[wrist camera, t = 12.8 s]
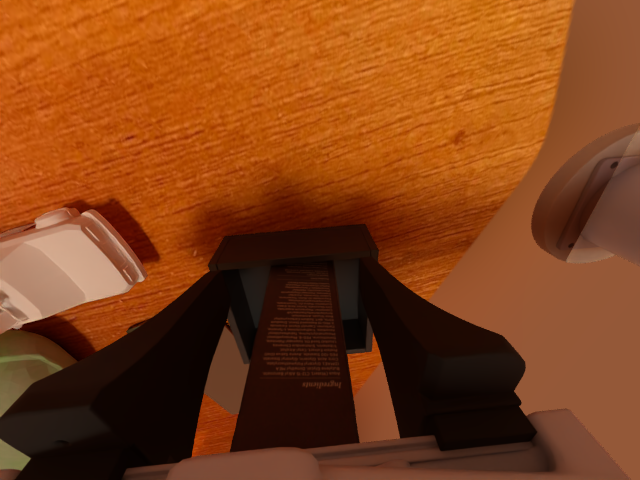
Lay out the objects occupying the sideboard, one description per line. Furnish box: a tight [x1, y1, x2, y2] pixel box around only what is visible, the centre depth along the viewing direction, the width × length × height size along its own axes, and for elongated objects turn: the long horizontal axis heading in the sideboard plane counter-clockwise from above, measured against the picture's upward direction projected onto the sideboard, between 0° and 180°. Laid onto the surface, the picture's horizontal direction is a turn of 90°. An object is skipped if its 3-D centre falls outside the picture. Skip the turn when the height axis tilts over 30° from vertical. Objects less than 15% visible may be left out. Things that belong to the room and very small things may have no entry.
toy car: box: [0, 207, 147, 334], centre depth 14 cm, size 6×12×7 cm, turn 105°
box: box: [230, 260, 360, 452], centre depth 14 cm, size 6×4×12 cm
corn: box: [0, 330, 77, 471], centre depth 20 cm, size 8×8×20 cm
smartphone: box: [127, 321, 249, 414], centre depth 24 cm, size 8×1×16 cm
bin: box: [208, 224, 379, 364], centre depth 18 cm, size 10×10×4 cm
